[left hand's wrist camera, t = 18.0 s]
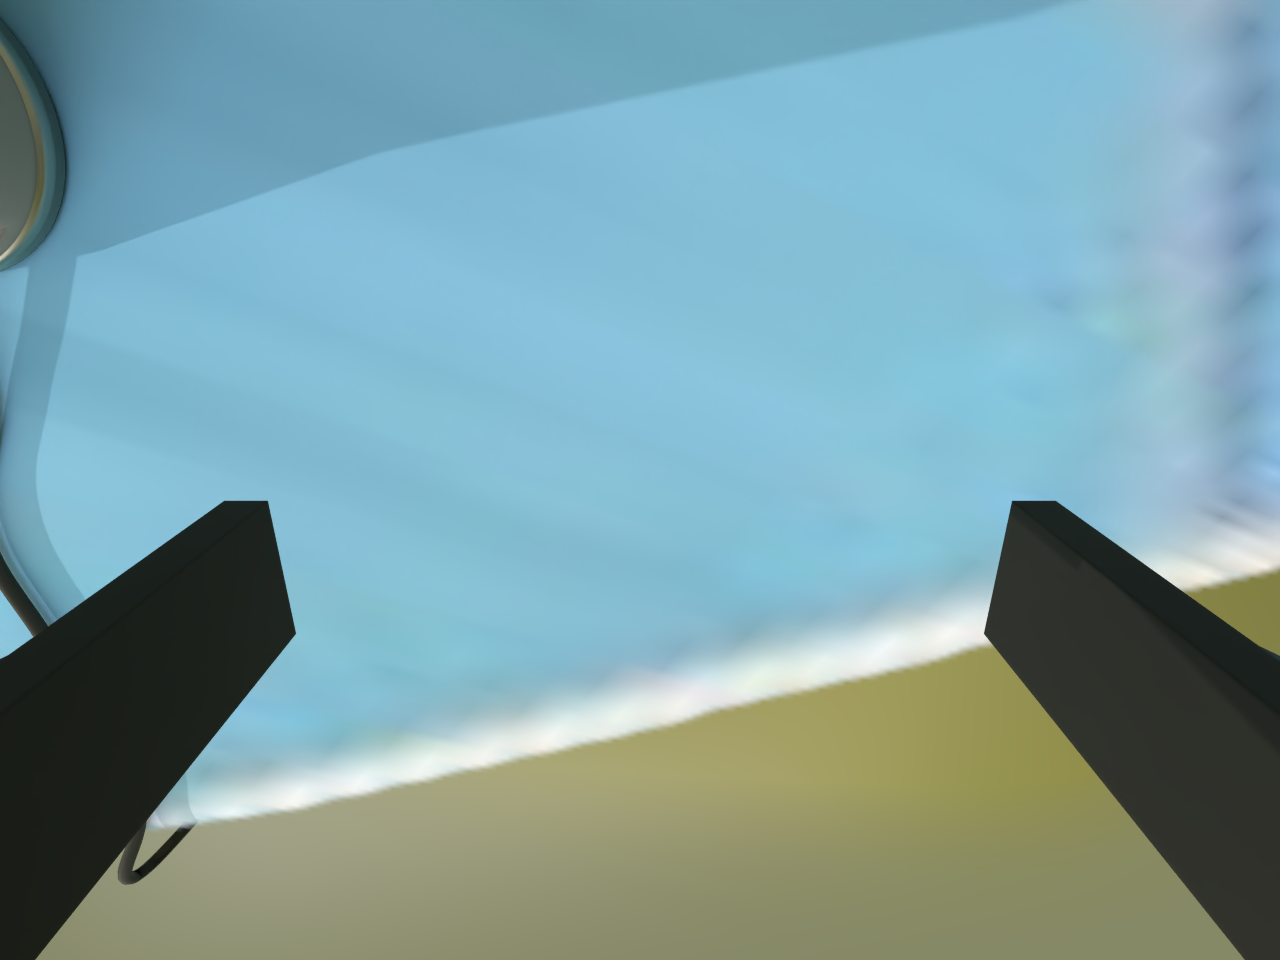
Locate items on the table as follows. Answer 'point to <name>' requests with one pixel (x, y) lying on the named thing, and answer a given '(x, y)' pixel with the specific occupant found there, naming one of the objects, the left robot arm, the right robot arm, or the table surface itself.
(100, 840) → the left robot arm
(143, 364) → the table surface
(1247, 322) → the table surface
